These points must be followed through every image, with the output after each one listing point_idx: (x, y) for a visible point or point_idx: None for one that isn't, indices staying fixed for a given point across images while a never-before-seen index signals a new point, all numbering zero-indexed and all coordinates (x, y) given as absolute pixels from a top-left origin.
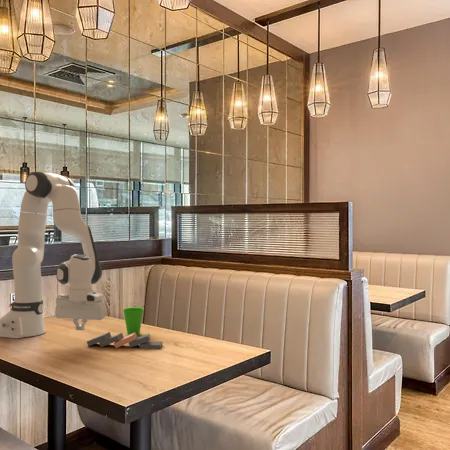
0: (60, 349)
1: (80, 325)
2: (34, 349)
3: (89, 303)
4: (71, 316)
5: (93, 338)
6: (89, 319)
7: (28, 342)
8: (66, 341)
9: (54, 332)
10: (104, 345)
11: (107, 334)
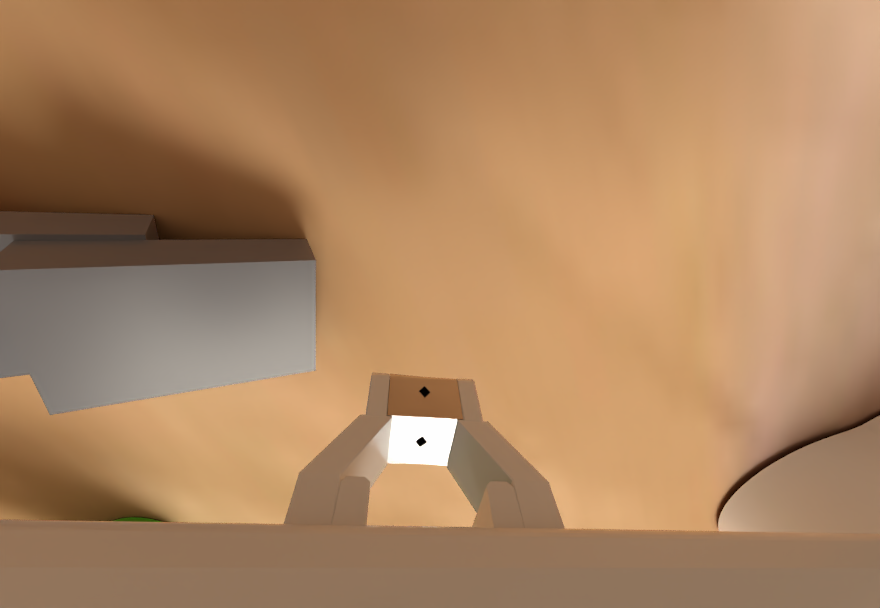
0: (557, 115)
1: (415, 444)
2: (824, 107)
3: None
4: (625, 583)
5: (269, 334)
6: (112, 521)
7: (843, 327)
8: (557, 370)
9: (666, 518)
10: (89, 215)
11: (29, 346)
